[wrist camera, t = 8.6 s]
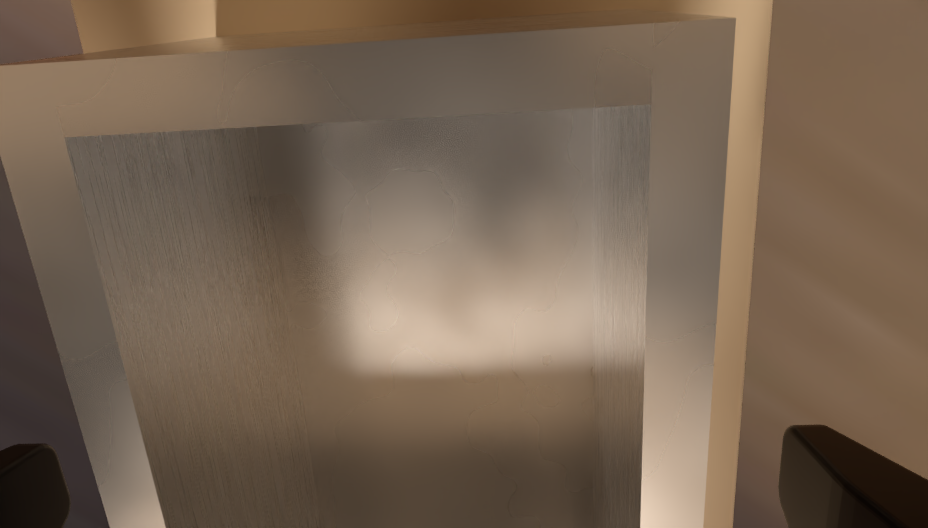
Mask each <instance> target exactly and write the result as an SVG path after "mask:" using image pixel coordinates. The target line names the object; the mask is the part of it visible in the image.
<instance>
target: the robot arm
mask: <svg viewBox="0 0 928 528" xmlns="http://www.w3.org/2000/svg"><path fill="white" fill-rule="evenodd" d="M778 488H779V498H780V503H781V507H782V510H783V513H784V516H785V519H786V521H787V524H788V527H789V528H928V480H927V479H925V478H923V477H921V476H919V475H918V474H916V473H914V472H912V471H910V470H908V469H906V468H904V467H903V466H901V465H899V464H897V463H895V462H893V461H891V460H889V459H888V458H886V457H884V456H882V455H880V454H878V453H876V452H874V451H873V450H871V449H869V448H867V447H865V446H863V445H861V444H859V443H858V442H856V441H854V440H852V439H850V438H848V437H846V436H844V435H843V434H841V433H839V432H837V431H835V430H833V429H831V428H829V427H827V426H825V425H793V426H790V427H788V428H787V429H786V431H785V433H784V436H783V444H782V454H781V464H780V474H779V485H778ZM70 504H71V501H70V494H69V491H68V488H67V484H66V481H65V478H64V475H63V472H62V469H61V466H60V462H59V459H58V456H57V454H56V451H55V450H54V449H53V448H52V447H51V446H50V445H48V444H17V445H13V446H10V447H8V448H6V449H4V450H1V451H0V528H63V526H64V524H65V522H66V520H67V517H68V515H69V511H70Z"/></svg>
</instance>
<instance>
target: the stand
mask: <svg viewBox="0 0 928 528" xmlns="http://www.w3.org/2000/svg"><path fill="white" fill-rule="evenodd" d="M71 3H72V7H73V11H74V15H75V20H76V24H77V28H78V32H79V36H80V40H81V44H82V48H83V52H84V53H92V52H99V51H107V50H115V49H123V48H131V47H138V46H146V45H154V44H162V43H170V42H177V41H185V40H193V39H201V38H209V37H217V36H232V35H247V34H262V33H276V32H291V31H306V30H321V29H336V28H351V27H366V26H381V25H396V24H411V23H425V22H440V21H455V20H470V19H485V18H500V17H515V16H530V15H545V14H559V13H574V12H589V11H604V10H619V9H640V10H652V11H663V12H675V13H686V14H698V15H710V16H721V17H733V18H736V28H735V44H734V59H733V75H732V90H731V106H730V121H729V137H728V152H727V168H726V183H725V199H724V214H723V230H722V245H721V261H720V276H719V291H718V307H717V322H716V338H715V353H714V369H713V384H712V400H711V415H710V431H709V446H708V462H707V477H706V493H705V508H704V524H703V528H732V526H733V513H734V500H735V487H736V474H737V461H738V448H739V435H740V422H741V409H742V396H743V383H744V370H745V357H746V344H747V331H748V318H749V305H750V292H751V279H752V266H753V253H754V240H755V227H756V214H757V201H758V188H759V175H760V162H761V149H762V136H763V123H764V110H765V97H766V84H767V71H768V58H769V45H770V32H771V19H772V6H773V0H71Z"/></svg>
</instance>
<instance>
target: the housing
mask: <svg viewBox="0 0 928 528" xmlns="http://www.w3.org/2000/svg"><path fill="white" fill-rule="evenodd" d="M735 28H736V18H733V17H721V16H710V15H698V14H686V13H675V12H663V11H652V10H640V9H619V10H604V11H589V12H574V13H559V14H545V15H530V16H515V17H500V18H485V19H470V20H455V21H440V22H425V23H411V24H396V25H381V26H366V27H351V28H336V29H321V30H306V31H291V32H276V33H262V34H247V35H232V36H217V37H209V38H201V39H193V40H185V41H177V42H170V43H162V44H154V45H146V46H138V47H131V48H123V49H115V50H107V51H99V52H92V53H84V54H76V55H68V56H60V57H53V58H45V59H37V60H29V61H21V62H14V63H6V64H0V156H1V159H2V163H3V166H4V170H5V173H6V176H7V180H8V183H9V187H10V190H11V193H12V197H13V200H14V204H15V207H16V210H17V214H18V217H19V220H20V224H21V227H22V231H23V234H24V237H25V241H26V244H27V248H28V251H29V254H30V258H31V261H32V265H33V268H34V271H35V275H36V278H37V282H38V285H39V288H40V292H41V295H42V299H43V302H44V305H45V309H46V312H47V316H48V319H49V322H50V326H51V329H52V332H53V336H54V339H55V343H56V346H57V349H58V353H59V356H60V360H61V363H62V366H63V370H64V373H65V377H66V380H67V383H68V387H69V390H70V394H71V397H72V400H73V404H74V407H75V411H76V414H77V417H78V421H79V424H80V428H81V431H82V434H83V438H84V441H85V444H86V448H87V451H88V455H89V458H90V461H91V465H92V468H93V472H94V475H95V478H96V482H97V485H98V489H99V492H100V495H101V499H102V502H103V506H104V509H105V512H106V516H107V519H108V523H109V526H110V528H703V524H704V508H705V493H706V477H707V462H708V446H709V431H710V415H711V400H712V384H713V369H714V353H715V338H716V322H717V307H718V291H719V276H720V261H721V245H722V230H723V214H724V199H725V183H726V168H727V152H728V137H729V121H730V106H731V90H732V75H733V59H734V44H735Z"/></svg>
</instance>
